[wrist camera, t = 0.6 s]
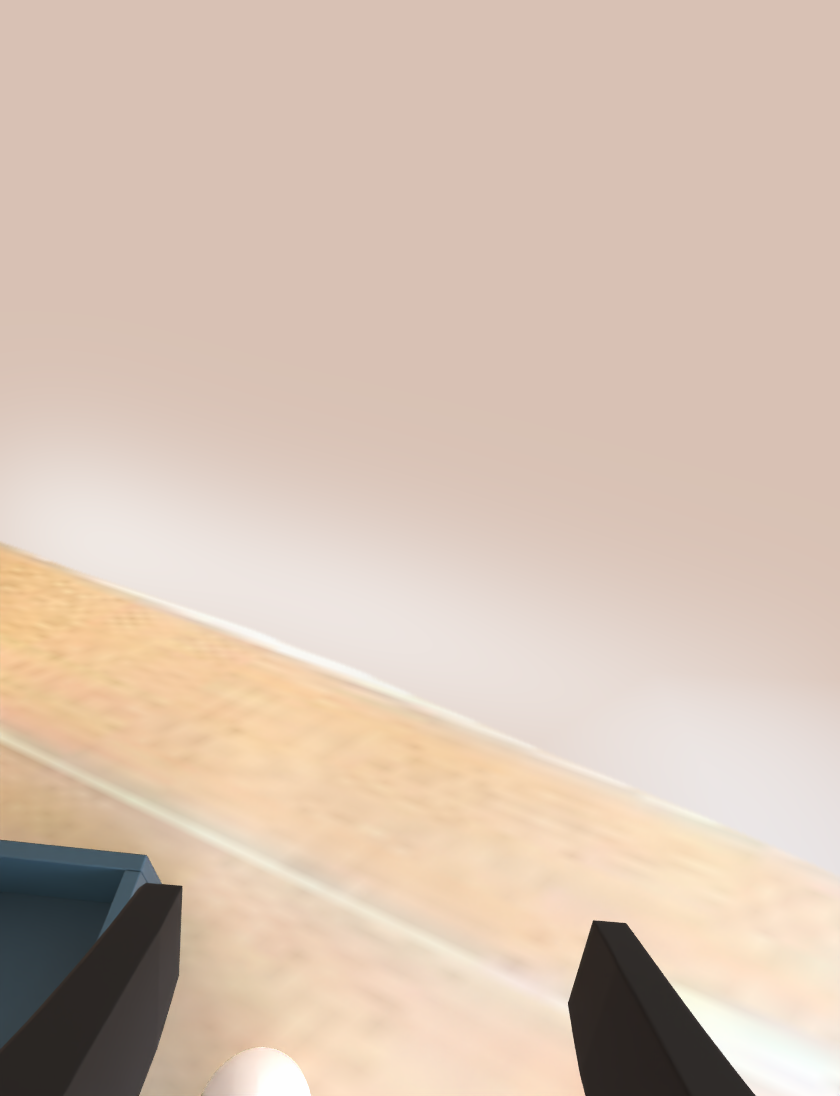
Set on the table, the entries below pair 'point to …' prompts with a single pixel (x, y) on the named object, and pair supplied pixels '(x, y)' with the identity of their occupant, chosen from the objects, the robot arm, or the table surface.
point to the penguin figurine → (258, 1075)
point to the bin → (55, 916)
